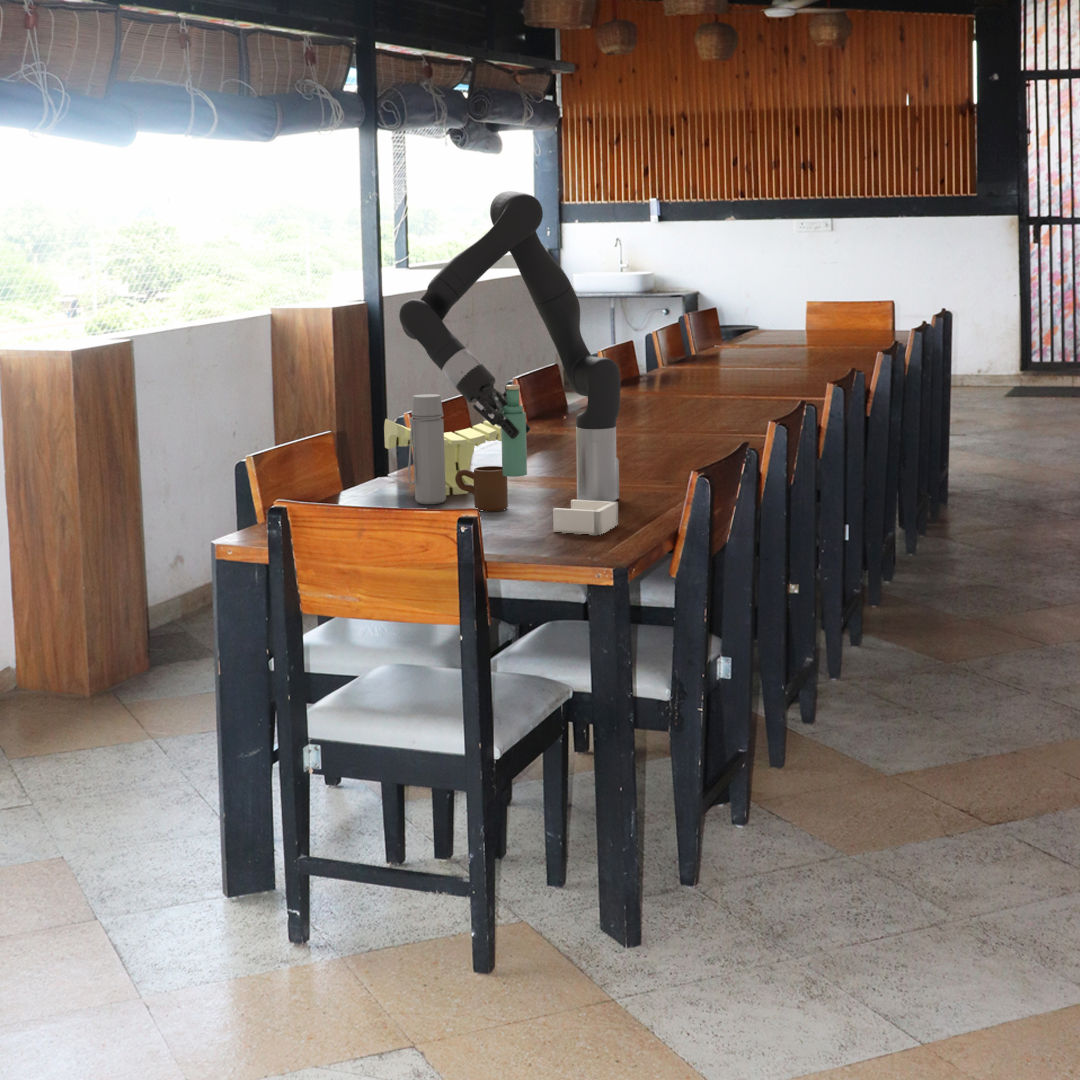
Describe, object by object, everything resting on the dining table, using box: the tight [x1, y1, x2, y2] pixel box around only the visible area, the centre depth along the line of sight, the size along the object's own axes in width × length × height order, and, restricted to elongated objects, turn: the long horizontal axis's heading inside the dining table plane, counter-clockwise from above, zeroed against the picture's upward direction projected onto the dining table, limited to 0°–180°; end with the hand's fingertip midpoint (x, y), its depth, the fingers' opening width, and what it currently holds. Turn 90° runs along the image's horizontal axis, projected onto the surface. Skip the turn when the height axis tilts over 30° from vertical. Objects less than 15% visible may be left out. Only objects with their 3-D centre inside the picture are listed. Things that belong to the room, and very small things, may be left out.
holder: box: [552, 499, 619, 536], centre depth 284 cm, size 10×11×5 cm
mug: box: [455, 465, 509, 512], centre depth 308 cm, size 12×8×9 cm, turn 79°
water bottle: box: [407, 393, 447, 505], centre depth 316 cm, size 9×8×25 cm
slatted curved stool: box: [383, 418, 502, 496], centre depth 334 cm, size 30×16×18 cm, turn 108°
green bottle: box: [501, 384, 528, 478], centre depth 284 cm, size 5×5×19 cm
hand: (521, 433), depth 284 cm, fingers closed on green bottle, 5 cm apart
